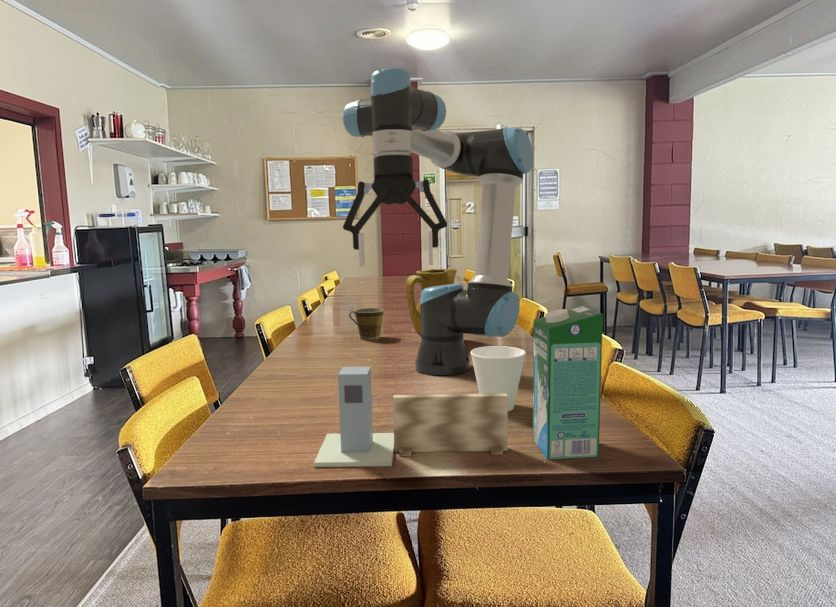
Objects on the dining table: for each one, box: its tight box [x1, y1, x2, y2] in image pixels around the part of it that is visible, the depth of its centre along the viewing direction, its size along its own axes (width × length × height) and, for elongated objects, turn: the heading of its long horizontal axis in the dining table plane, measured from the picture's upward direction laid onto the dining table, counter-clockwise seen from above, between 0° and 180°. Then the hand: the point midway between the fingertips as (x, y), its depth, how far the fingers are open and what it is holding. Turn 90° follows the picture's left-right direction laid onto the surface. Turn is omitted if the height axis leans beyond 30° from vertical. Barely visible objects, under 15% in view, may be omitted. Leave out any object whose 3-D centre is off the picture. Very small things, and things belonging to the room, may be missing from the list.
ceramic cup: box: [348, 307, 384, 341], centre depth 199 cm, size 13×10×10 cm
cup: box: [469, 345, 527, 412], centre depth 123 cm, size 12×12×12 cm
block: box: [337, 366, 374, 452], centre depth 100 cm, size 5×5×14 cm
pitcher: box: [405, 268, 458, 337], centre depth 188 cm, size 17×19×25 cm
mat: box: [313, 432, 395, 468], centre depth 101 cm, size 13×13×1 cm
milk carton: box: [532, 305, 604, 460], centre depth 99 cm, size 9×9×25 cm
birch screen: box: [392, 393, 509, 457], centre depth 101 cm, size 20×5×10 cm, turn 89°
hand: (396, 265), depth 113 cm, fingers open, 13 cm apart
